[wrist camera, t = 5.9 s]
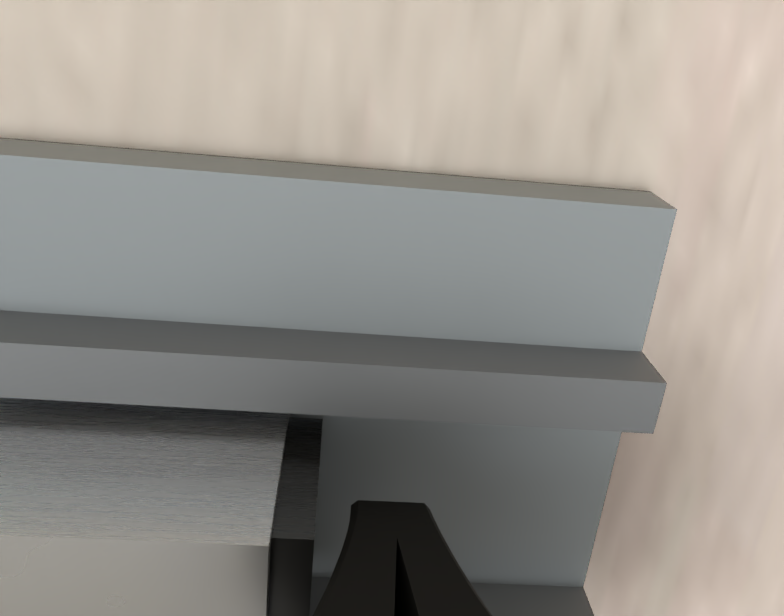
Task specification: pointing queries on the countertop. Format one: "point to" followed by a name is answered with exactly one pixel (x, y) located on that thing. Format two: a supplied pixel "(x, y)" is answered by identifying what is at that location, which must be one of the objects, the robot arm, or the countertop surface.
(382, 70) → the countertop surface
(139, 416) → the grey rail carriage
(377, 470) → the gauge board
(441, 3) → the countertop surface
